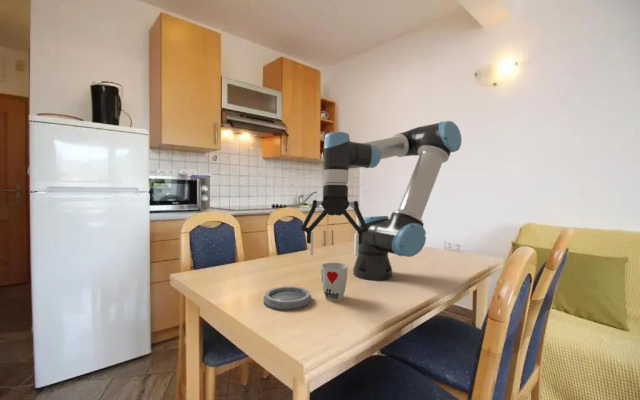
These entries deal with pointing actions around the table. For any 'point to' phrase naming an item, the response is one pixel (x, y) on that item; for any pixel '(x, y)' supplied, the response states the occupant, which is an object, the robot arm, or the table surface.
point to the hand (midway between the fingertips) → (333, 254)
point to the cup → (334, 280)
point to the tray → (287, 298)
